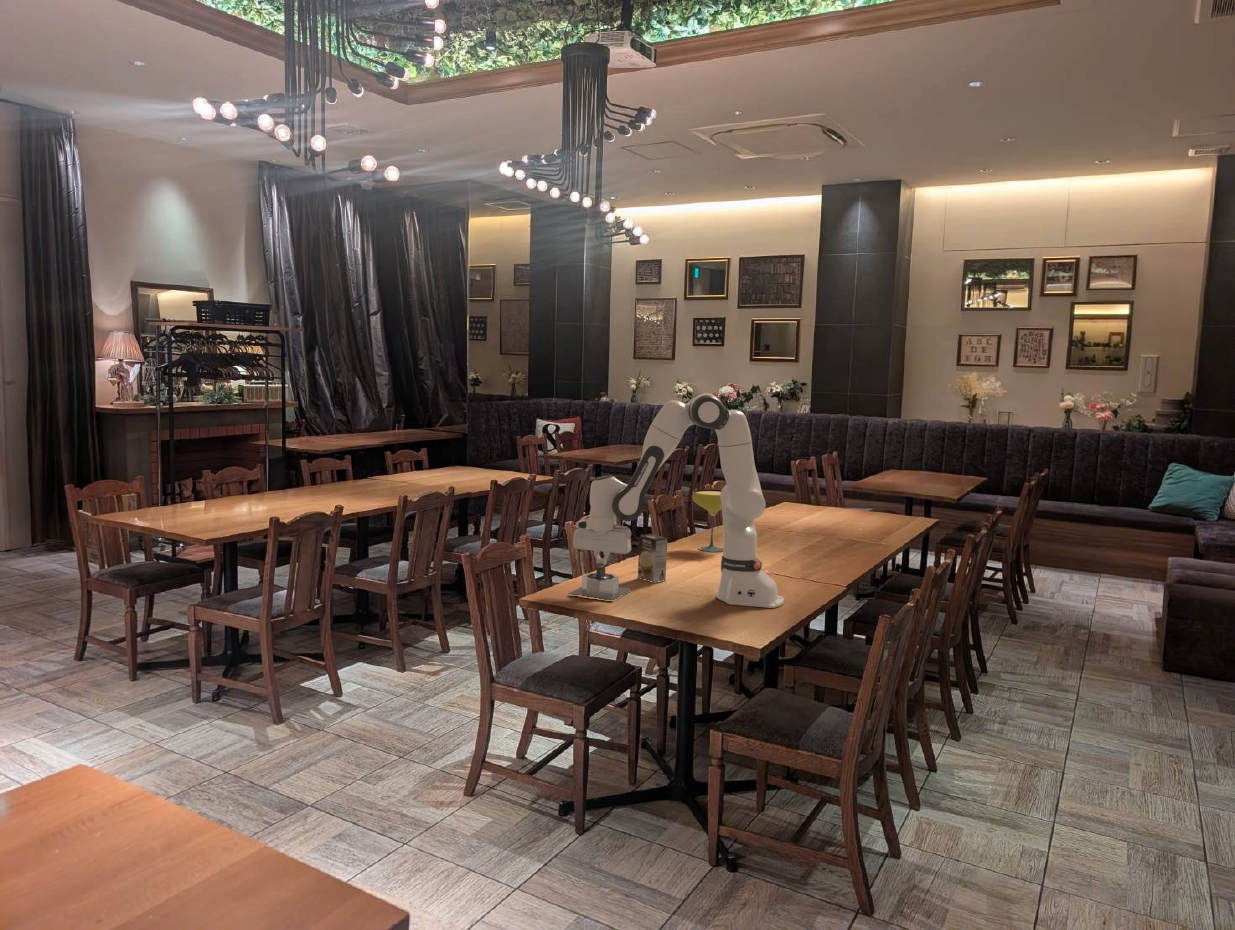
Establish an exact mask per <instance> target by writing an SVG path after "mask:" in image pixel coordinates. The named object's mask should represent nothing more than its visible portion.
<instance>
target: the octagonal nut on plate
mask: <svg viewBox="0 0 1235 930" xmlns="http://www.w3.org/2000/svg"><path fill="white" fill-rule="evenodd" d="M593 575H596V572H588V573H586V574H584V575H582V576H581V586H580V587H578V588H576V589H574V590H572V591H570V592H568V594H572V595H582V596H587V597H594V598H599V599H604V600H615V599H617V598H618V597H620V596H621V595H624V594H626V593H627V592H629V591H631V592H632V588H629V587H628V588H626V587H619V584H620V578H619V576H618V575H616V574H614V573H609V572H608V573H607V572H605V575H608V576H609V577H610V579H608V580H596V579H592V576H593ZM626 595H627V594H626ZM624 596H625V595H624ZM617 600H618V599H617Z"/></svg>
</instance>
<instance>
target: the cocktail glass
mask: <svg viewBox="0 0 1235 930" xmlns="http://www.w3.org/2000/svg"><path fill="white" fill-rule="evenodd" d="M721 491H722V489H709V488H708V489H706V488H705V489H695V490H693V491H692V495H691V497H692V501H693V502H694V503H695V504H696V505H697V506H699V507H701V508H703V509H704V510H705V511H707V512H708V513H709V515H710V516H711V533H710V542H709V545H708V546H700V547H699V548H701V550H703V551H702V552H704V551H707V552H706V553H722V552H723V548H722V547H719V546H714V539H713V538H714V537H713V535H714V516H716V515H717V514H718V512H720V511H722V503H721V499H720V494H721ZM701 550H700V551H701Z"/></svg>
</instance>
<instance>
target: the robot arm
mask: <svg viewBox="0 0 1235 930" xmlns="http://www.w3.org/2000/svg"><path fill="white" fill-rule="evenodd" d="M693 425H697V426H699V427H701V428H704V429H711V430H715V433H716V437H717V444H718V452H719V459H720V466H721V467H720V468H721V471H722V474H723V476H724V477H723V478H724V480H725V483H726V484H725V485H724V487H722V488H721V490H722V491H721V494H720V499H721V503H722V510H721V514H722V527H723V548H722V549H723V551H722V552H723V553H722V555H721V561H720V571H721V572H720V573H721V575H720V576H721V577H720V582H719V587H718V591H717V594H716V598H717V599H718V600H720V601H723V602H725V604H727V605H735V606H746V607H755V608H756V607H759V608H767V609H774V608H778V607H780V606H782V605H783V604H784V603H785V598H784V597H783V596H782V595H779V592H778V586H777V583H776V582H775V580H774V579H773V578H771V577H770V576H769V575H768V574H767V573H765V571H763V570H762V567H763V566H762V564H763V560H762V559H761V560H760V559H758V558H757V546H758V545H757V543H758V533H757V530H756V523H755V520H756V519H758V518H759V517H761V516H762V515H763V514H764V512H765V510H766V504H767V503H766V500H765V497H764V494H763V490H762V488H761V487H762V486H761V482H760V478H759V475H758V472H757V469H756V464H755V457H754V450H753V441H752V434H751V428H750V426H749V423H748V420H747V416H746V415H745V414H744V412H742V411H739V410H737V409H730V410H729V409H727V407H726V406H725V405H724V404H723V402H722V401H721V400H720V398H718V397H717V396H716V395H713V394H711V393H708V392H707V393H706V392H705V393H704V392H703V393H698V394H696V395H695V396H692V397H691V398H690V399H688V400H686V401H685V402H682V401H680V400H675V399H674V400H673V399H671V400H668V401H666V403H664V404H663V406H662V407H661V408H660V410H659V411H658V413H657V414H656V416H655V417H654V418H653V420H652V422H651V424H650V426H649V428H648V430H647V433H646V435H645V438H644V441H643V445H642V451H641V452H642V453H641V457H640V460H639V462H638V464H637V467H636V469H635V471H634V473H633V474H632V476H631V478H630V481H629V482H628V483H624V482H622V481H621V480H619V479H617V478H616V476H613V475H601V476H597V477H596V478H594V479H593V480H592V482H591V483H590V490H589V505H590V510H589V515H588V516H589V517H586V518H584V519H581V520H579V521H576V522H575V528H576V529H575V530H574V533H573V539H572V545H573V547H574V549H577V550H585V551H586V550H587V551H593V555H594V557H595V559H596V564H597V565H607V559H608V558H609V556H610V555H611V553H612V554H621V555H622V554H623V555H627V554H629V553H630V552H631V551H632V543H631V542H632V541H631V536H632V531H631V529H630V527H628V526H627V525H620V524H619V525H618V524H616V520H617V519H619V520H621V521H623V522H632V521H635V520H637V519H638V518H639V517H640V516H641V515H642V513H643V511H644V500H645V496H646V493H647V491H648V489H649V487H650V485H651V483H652V481H653V480H654V477H655V476H656V474H657V472H658V470H659V469H660V468H661V467H662V465H664V463H665V462H666V461H667V460H668V458H669V457H670V456H671V455H672V453H674V451H675V450H676V448H677V447H678V445H679V444H680V442H681V440H682V438H683V436H684V434H685V432H686V431H687V429H688V428H690V427H691V426H693ZM616 518H617V519H616ZM601 552H603V555H604V556H603V558H602V557H601V556H600V553H601Z"/></svg>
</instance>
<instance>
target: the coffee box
mask: <svg viewBox="0 0 1235 930" xmlns="http://www.w3.org/2000/svg"><path fill="white" fill-rule="evenodd" d="M667 556H668V537H664V536H661V535H657V534H653V533H648V534H642V535H639V539H638V561H637V563H638V565H637V578H638V579H639V578H641V579H640V580H642V579H646V580H649V581H652V582H658V581H663V580H666V578H667ZM652 582H651V583H652ZM663 582H664V581H663ZM658 583H659V582H658Z"/></svg>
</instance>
